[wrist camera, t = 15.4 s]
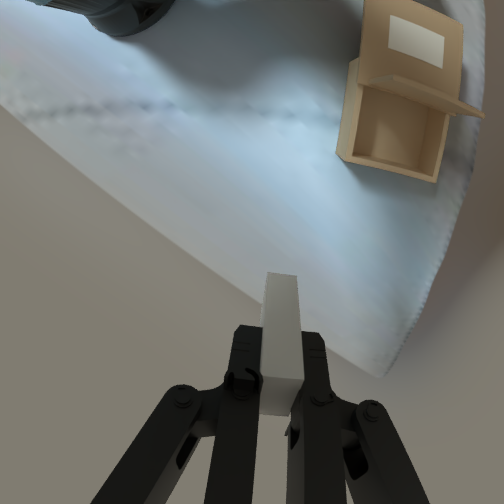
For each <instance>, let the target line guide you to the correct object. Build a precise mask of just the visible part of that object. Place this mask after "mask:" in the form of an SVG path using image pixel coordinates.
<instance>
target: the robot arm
mask: <svg viewBox="0 0 504 504" xmlns="http://www.w3.org/2000/svg"><path fill="white" fill-rule="evenodd" d="M27 1H30V2H34V3H35V4H36V5H40V6H41V5H43V6H48V7H53V8H57V9H62V10H66V11H70V12H74V13H78V14H82V15H84V16H85V17H86V18H87V19H88V20H89V22H90V23H91V24H92V26H93V27H94V28H95V29H97V30H98V31H100V32H102V33H106V34H109V35H113V36H128V35H132V34H135V33H138V32H141V31H143V30H145V29H147V28H148V27H150V26H152V25H153V24H154V23H156V22H157V21H158V20H159V19H161V18H162V17H163V16H164V15H165V14H166V12H167V11H168V10H169V9H170V7H171V6H172V4H173V3H174V1H175V0H27ZM325 351H326V350H325V343H324V340H323V338H322V337H321V335H320V334H319V333H317V332H306V331H301V323H300V310H299V298H298V287H297V276H294V275H286V274H278V273H271V272H268V273H267V279H266V285H265V291H264V297H263V303H262V309H261V318H260V327H255V326H247V325H240V326H239V327H238V328H237V329H236V331H235V332H234V337H233V343H232V349H231V354H230V360H229V365H228V370H227V372H226V374H225V376H224V382H223V383H222V384H221V385H220V386H219V387H216V388H214V389H210V390H202V391H198V390H197V389H195V388H194V387H192V386H189V385H185V384H183V385H176V386H173V387H171V388H170V389H169V390H168V391H167V392H166V393H165V395H164V396H163V398H162V399H161V401H160V402H159V404H158V405H157V407H156V408H155V409H154V411H153V412H152V414H151V415H150V417H149V418H148V420H147V421H146V423H145V424H144V426H143V427H142V429H141V430H140V432H139V433H138V435H137V436H136V438H135V439H134V441H133V442H132V444H131V445H130V446H129V448H128V449H127V451H126V452H125V454H124V455H123V457H122V458H121V460H120V461H119V463H118V464H117V465H116V467H115V468H114V470H113V471H112V473H111V474H110V476H109V477H108V479H107V480H106V481H105V483H104V484H103V486H102V487H101V489H100V490H99V492H98V493H97V495H96V496H95V498H94V499H93V500H92V502H91V503H90V504H165V503H166V501H167V500H168V498H169V496H170V494H171V493H172V491H173V489H174V487H175V485H176V484H177V482H178V480H179V478H180V476H181V474H182V473H183V471H184V469H185V467H186V465H187V463H188V462H189V460H190V458H191V456H192V454H193V453H194V451H195V448H196V447H197V445H198V443H199V441H200V439H201V437H208V436H215V441H214V446H213V452H212V458H211V464H210V470H209V476H208V482H207V488H206V493H205V499H204V504H252V494H253V483H254V482H253V481H254V470H255V459H256V447H257V434H258V421H259V414H263V415H275V416H289V414H290V412H291V421H290V424H289V425H288V427H287V430H286V432H285V436H287V435H288V460H287V461H288V462H287V493H286V504H347V500H346V483H345V479H346V482H347V485H348V488H349V491H350V493H351V496H352V499H353V502H354V504H430V503H429V501H428V498H427V496H426V494H425V491H424V489H423V487H422V485H421V482H420V480H419V478H418V476H417V473H416V471H415V469H414V467H413V465H412V462H411V460H410V458H409V456H408V454H407V452H406V450H405V448H404V446H403V443H402V441H401V439H400V437H399V435H398V433H397V431H396V429H395V427H394V425H393V423H392V421H391V419H390V417H389V415H388V413H387V411H386V409H385V408H384V406H383V405H382V404H381V403H379V402H378V401H374V400H365V401H363V402H361V403H360V404H359V405H358V404H354V403H351V402H347V401H345V400H342V399H340V398H339V397H337V396H336V394H335V393H334V392H333V391H332V389H331V386H330V380H329V372H328V364H327V359H326V358H327V357H326V352H325Z"/></svg>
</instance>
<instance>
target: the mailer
mask: <svg viewBox="0 0 504 504" xmlns="http://www.w3.org/2000/svg"><path fill="white" fill-rule="evenodd" d="M358 61H359V57H358V58H356V59H354V60H352V61H351V62H349V68H348V76H347V84H346V91H345V98H344V105H343V111H342V118H341V124H340V130H339V136H338V142H337V148H336V154H337V155H338V156H339V157H340V158H342V159H343V160H344V161H347V162H351V163H356V164H361V165H365V166H370V167H374V168H379V169H383V170H387V171H391V172H395V173H399V174H403V175H407V176H410V177H414V178H418V179H421V180H425V181H428V182H432V183H435V184H436V181H437V177H438V173H439V169H440V164H441V160H442V156H443V151H444V146H445V142H446V136H447V131H448V126H449V120H450V115H449V114H447V113H444V112H442V111H439V110H437V109H434V108H432V107H429V106H427V105H424V104H421V103H419V102H416V101H413V100H410V99H407V98H404V97H401V96H398V95H395V94H392V93H389V92H385V91H382V90H379V89H375V88H372V87H368V86H364V85H361V84H357V83H356V77H357V69H358Z"/></svg>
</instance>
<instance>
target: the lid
mask: <svg viewBox="0 0 504 504" xmlns="http://www.w3.org/2000/svg"><path fill="white" fill-rule="evenodd" d="M462 56H463V25H462V24H460V23H459V22H457V21H455V20H453V19H451V18H449V17H447V16H445V15H443V14H441V13H439V12H437V11H435V10H433V9H431V8H429V7H426V6H424V5H422V4H420V3H417V2H415V1H412V0H364V7H363V20H362V32H361V42H360V52H359V61H358V69H357V77H356V83H357V84H361V85H364V86H368V87H372V88H375V89H379V90H382V91H385V92H389V93H392V94H395V95H398V96H401V97H404V98H407V99H410V100H413V101H416V102H419V103H421V104H424V105H427V106H429V107H432V108H434V109H437V110H439V111H442V112H444V113H447V114H449V115H451V116H454V117H456V114H463V115H468V116H474V117H479V118H485V113H483V112H481V111H479V110H477V109H476V108H474V107H472V106H470V105H468V104H466V103H464V102H462V101H459V100H458V99H459V91H460V82H461V71H462Z"/></svg>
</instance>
